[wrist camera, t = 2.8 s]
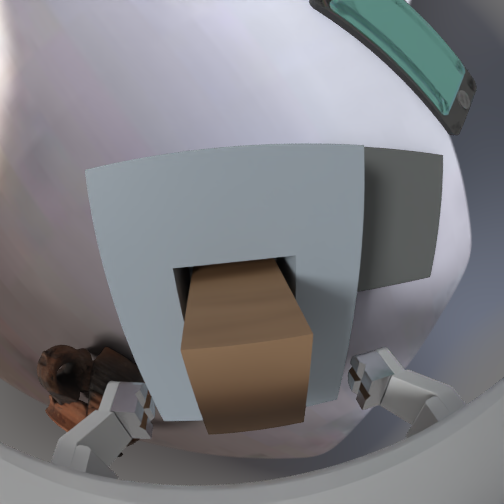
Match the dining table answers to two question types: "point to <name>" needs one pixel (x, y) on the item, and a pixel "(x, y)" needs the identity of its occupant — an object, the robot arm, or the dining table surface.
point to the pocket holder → (230, 247)
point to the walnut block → (246, 347)
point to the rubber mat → (399, 216)
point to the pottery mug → (81, 381)
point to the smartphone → (409, 53)
